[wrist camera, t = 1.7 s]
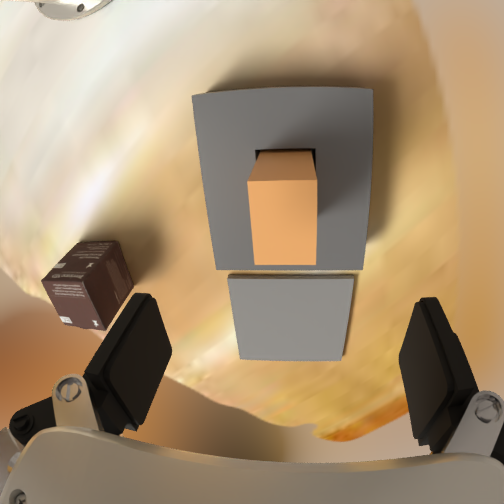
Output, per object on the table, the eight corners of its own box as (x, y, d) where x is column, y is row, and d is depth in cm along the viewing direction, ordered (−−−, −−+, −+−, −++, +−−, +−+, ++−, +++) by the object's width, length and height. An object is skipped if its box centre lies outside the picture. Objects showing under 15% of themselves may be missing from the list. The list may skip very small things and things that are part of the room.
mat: (228, 275, 31) (227, 278, 30) (353, 275, 29) (354, 279, 28) (240, 355, 37) (240, 359, 36) (340, 357, 35) (341, 360, 35)
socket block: (205, 92, 22) (191, 95, 19) (362, 87, 20) (373, 89, 17) (224, 248, 29) (216, 269, 26) (356, 247, 27) (362, 269, 25)
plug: (263, 144, 23) (247, 181, 16) (309, 143, 23) (317, 180, 15) (267, 204, 26) (254, 264, 18) (310, 203, 25) (315, 264, 18)
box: (119, 239, 30) (83, 281, 24) (135, 286, 33) (107, 332, 27) (76, 241, 31) (39, 279, 25) (94, 285, 34) (63, 326, 28)
